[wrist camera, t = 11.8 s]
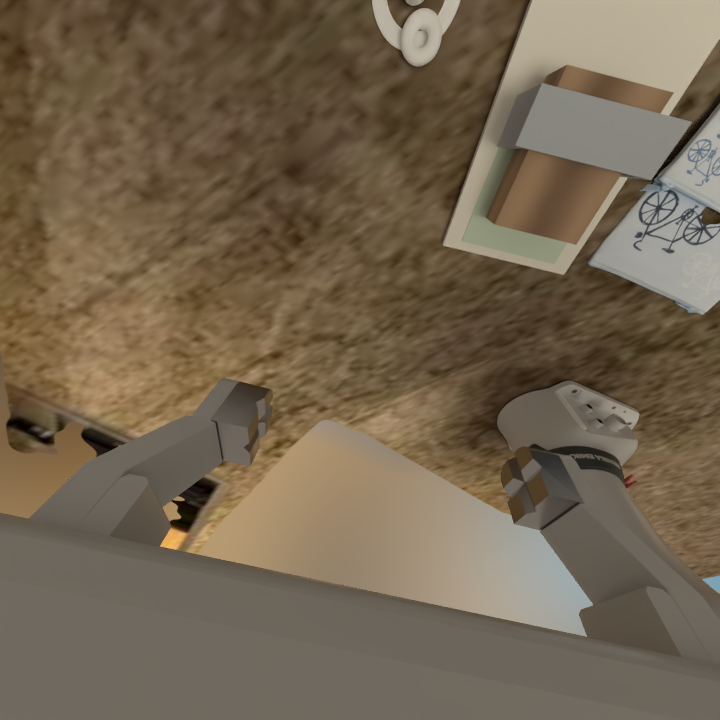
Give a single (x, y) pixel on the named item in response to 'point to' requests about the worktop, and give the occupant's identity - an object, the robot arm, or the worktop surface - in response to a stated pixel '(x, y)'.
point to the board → (591, 52)
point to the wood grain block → (565, 168)
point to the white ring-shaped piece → (416, 29)
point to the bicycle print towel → (674, 228)
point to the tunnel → (591, 131)
